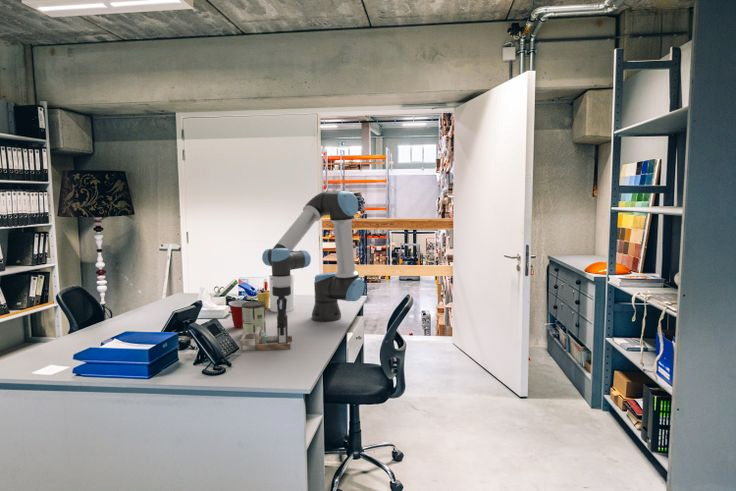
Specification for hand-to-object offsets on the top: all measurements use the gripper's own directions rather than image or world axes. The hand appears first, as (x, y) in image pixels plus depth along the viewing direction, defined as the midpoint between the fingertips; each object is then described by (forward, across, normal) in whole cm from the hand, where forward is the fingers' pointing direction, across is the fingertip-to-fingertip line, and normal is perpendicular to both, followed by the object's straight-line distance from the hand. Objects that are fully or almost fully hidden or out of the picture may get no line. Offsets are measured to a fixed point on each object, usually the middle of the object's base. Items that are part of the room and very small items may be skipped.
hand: (282, 340), depth 198 cm
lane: (+2, 0, -7) cm, 7 cm away
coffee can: (+2, -18, -14) cm, 23 cm away
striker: (+1, 0, -3) cm, 3 cm away
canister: (+2, -67, -5) cm, 67 cm away
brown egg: (0, 0, -10) cm, 10 cm away
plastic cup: (+2, -31, -22) cm, 38 cm away
